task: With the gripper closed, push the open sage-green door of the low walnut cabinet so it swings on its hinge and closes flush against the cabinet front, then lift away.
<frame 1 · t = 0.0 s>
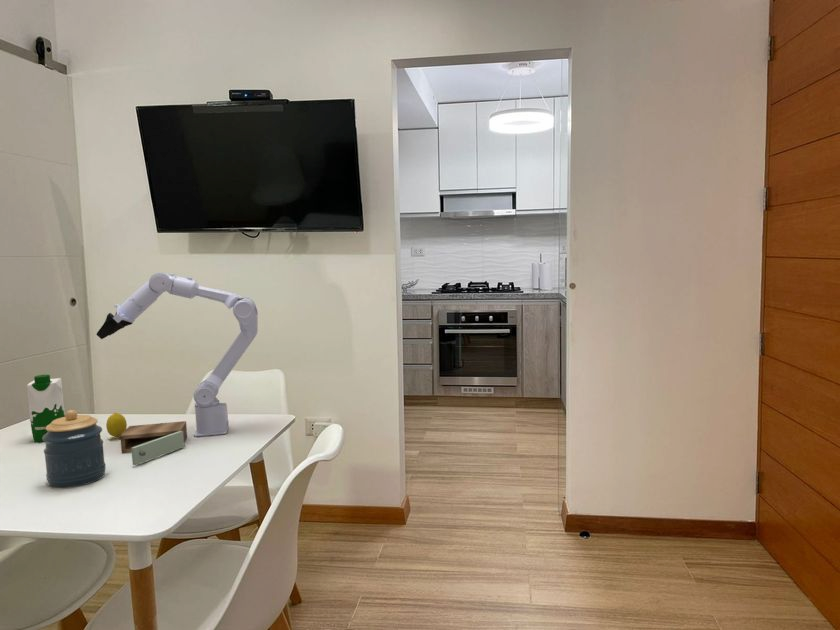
hand: (103, 335, 178), 32 cm above the table, tool tilted 50°, fingers open, 7 cm apart
milk carton: (50, 438, 187), on the table
door: (160, 447, 166), point 3 cm above the table, hinge at 50.0°
cabinet: (155, 444, 177), on the table
lemon: (117, 438, 185), on the table
canister: (77, 479, 151), on the table
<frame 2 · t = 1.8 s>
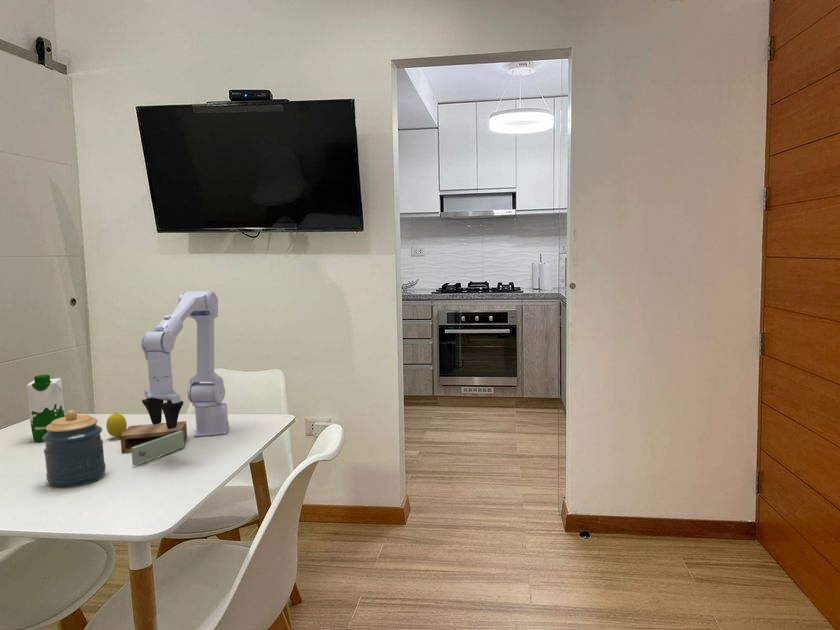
hand: (164, 425, 162), 10 cm above the table, tool pointing down, fingers open, 7 cm apart
nothing on the table moved.
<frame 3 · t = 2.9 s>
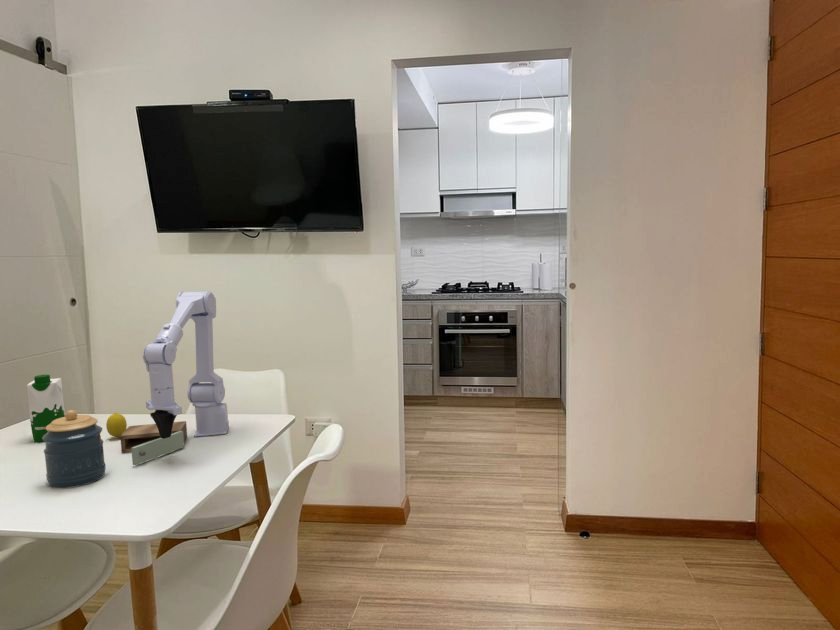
hand: (165, 437, 162), 6 cm above the table, tool pointing down, fingers closed
nothing on the table moved.
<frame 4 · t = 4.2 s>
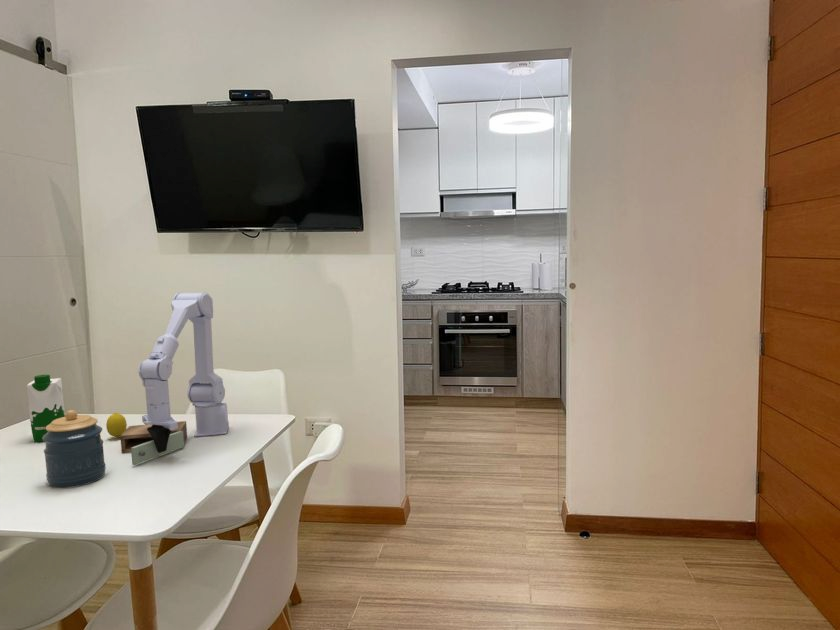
hand: (162, 451, 164), 2 cm above the table, tool pointing down, fingers closed
door: (159, 447, 166), point 3 cm above the table, hinge at 49.5°, touching gripper
everything else where it was.
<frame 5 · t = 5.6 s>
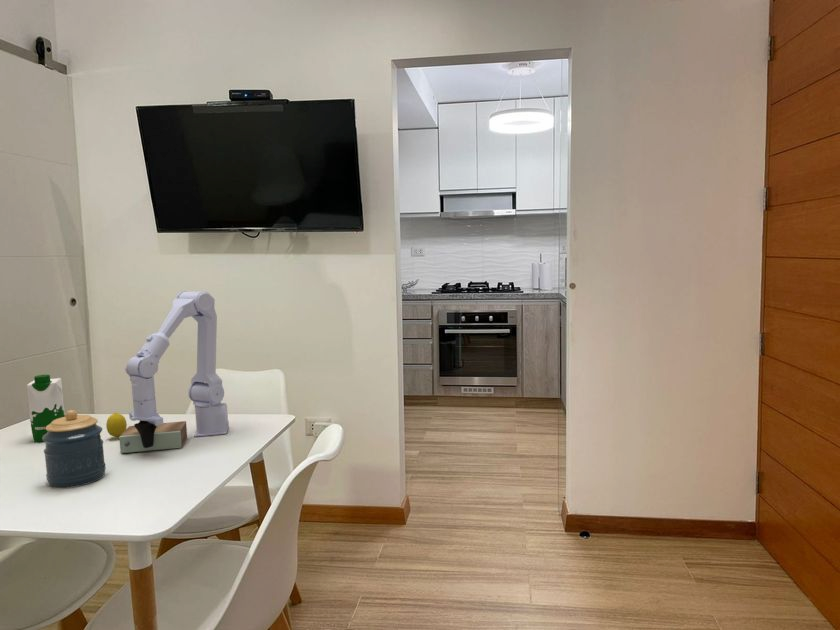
hand: (148, 446, 169), 2 cm above the table, tool pointing down, fingers closed, pressing on door
door: (150, 442, 170), point 3 cm above the table, hinge at -0.5°, touching gripper
everything else where it was.
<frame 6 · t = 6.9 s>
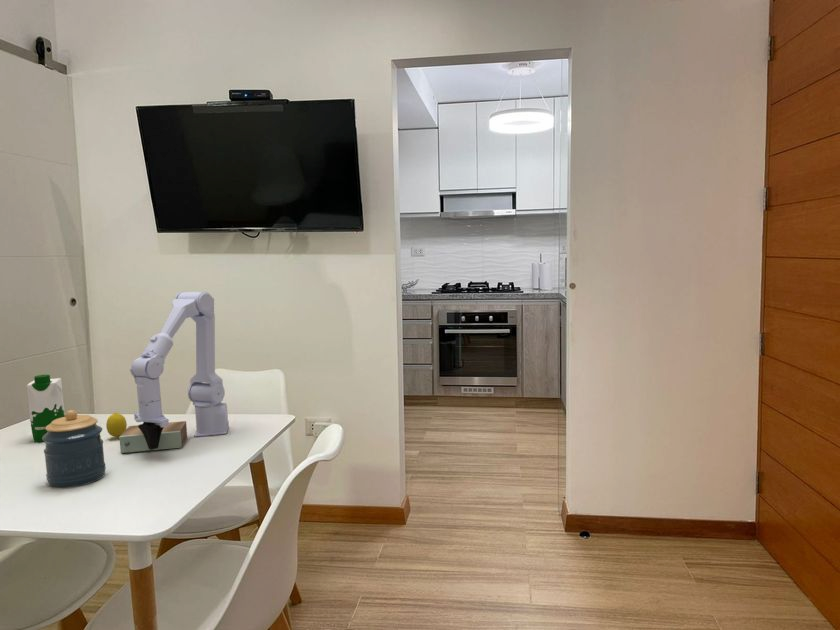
hand: (153, 448, 167), 2 cm above the table, tool pointing down, fingers closed
door: (150, 442, 170), point 3 cm above the table, hinge at -1.0°
everything else where it was.
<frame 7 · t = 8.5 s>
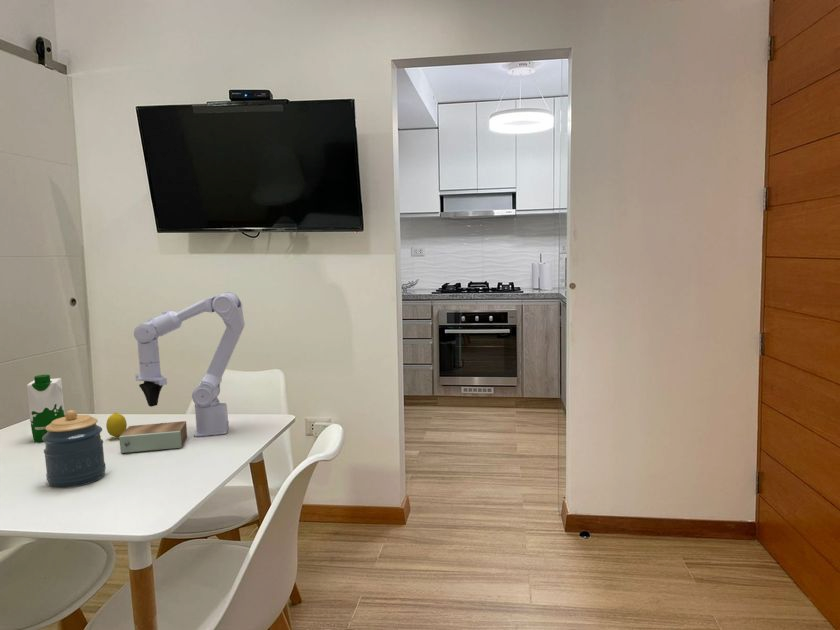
hand: (153, 405, 185), 9 cm above the table, tool pointing down, fingers closed
nothing on the table moved.
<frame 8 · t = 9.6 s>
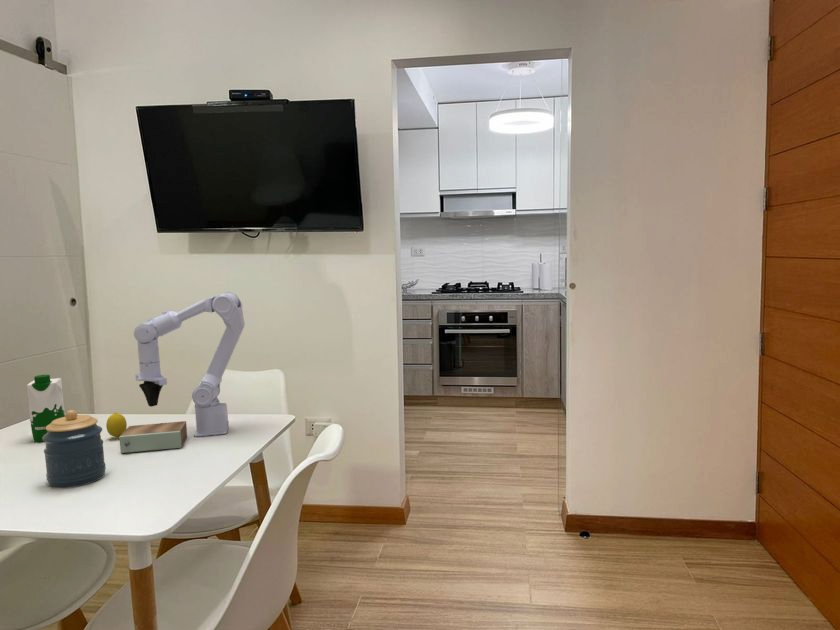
hand: (153, 405, 185), 9 cm above the table, tool pointing down, fingers closed
nothing on the table moved.
at the end: door at -1° (first picture: +50°); lemon moved 0.2 cm from its start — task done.
